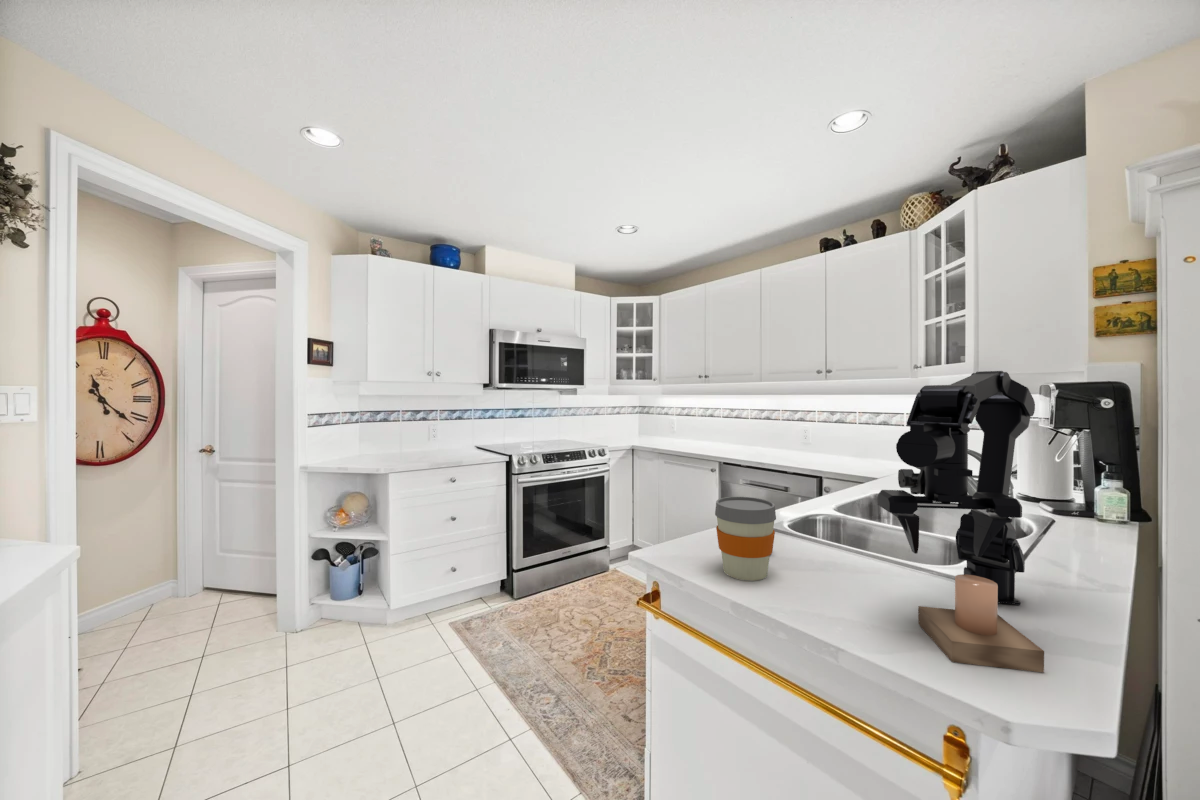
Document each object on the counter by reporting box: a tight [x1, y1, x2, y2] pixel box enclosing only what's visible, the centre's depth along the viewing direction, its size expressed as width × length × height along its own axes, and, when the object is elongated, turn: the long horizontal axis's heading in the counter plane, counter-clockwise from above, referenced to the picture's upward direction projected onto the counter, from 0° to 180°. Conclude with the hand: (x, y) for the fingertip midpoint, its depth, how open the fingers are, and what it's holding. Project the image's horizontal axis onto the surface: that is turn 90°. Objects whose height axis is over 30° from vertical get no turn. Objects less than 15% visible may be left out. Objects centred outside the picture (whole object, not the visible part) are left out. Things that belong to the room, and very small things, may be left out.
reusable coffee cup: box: [714, 496, 777, 582], centre depth 99 cm, size 12×12×15 cm
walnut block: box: [917, 605, 1045, 673], centre depth 70 cm, size 11×11×3 cm
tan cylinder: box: [954, 573, 999, 635], centre depth 70 cm, size 5×5×7 cm
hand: (945, 554), depth 76 cm, fingers open, 9 cm apart
